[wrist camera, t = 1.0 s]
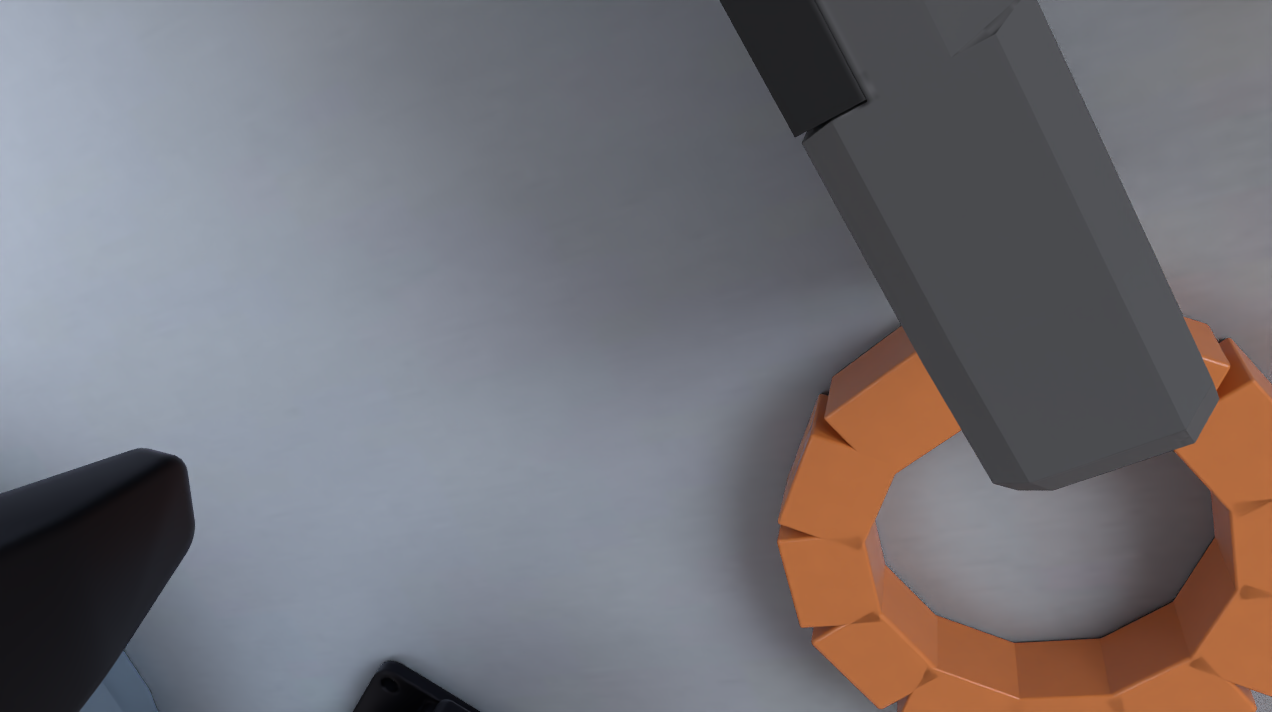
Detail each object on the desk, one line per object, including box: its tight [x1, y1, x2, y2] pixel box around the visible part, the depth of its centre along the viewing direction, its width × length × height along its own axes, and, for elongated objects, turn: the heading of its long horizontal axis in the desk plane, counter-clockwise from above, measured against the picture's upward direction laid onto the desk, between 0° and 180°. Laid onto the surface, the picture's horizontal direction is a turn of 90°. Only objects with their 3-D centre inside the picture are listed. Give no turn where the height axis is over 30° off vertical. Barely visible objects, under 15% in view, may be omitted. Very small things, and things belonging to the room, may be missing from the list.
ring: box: [777, 317, 1272, 712], centre depth 21 cm, size 10×10×2 cm
